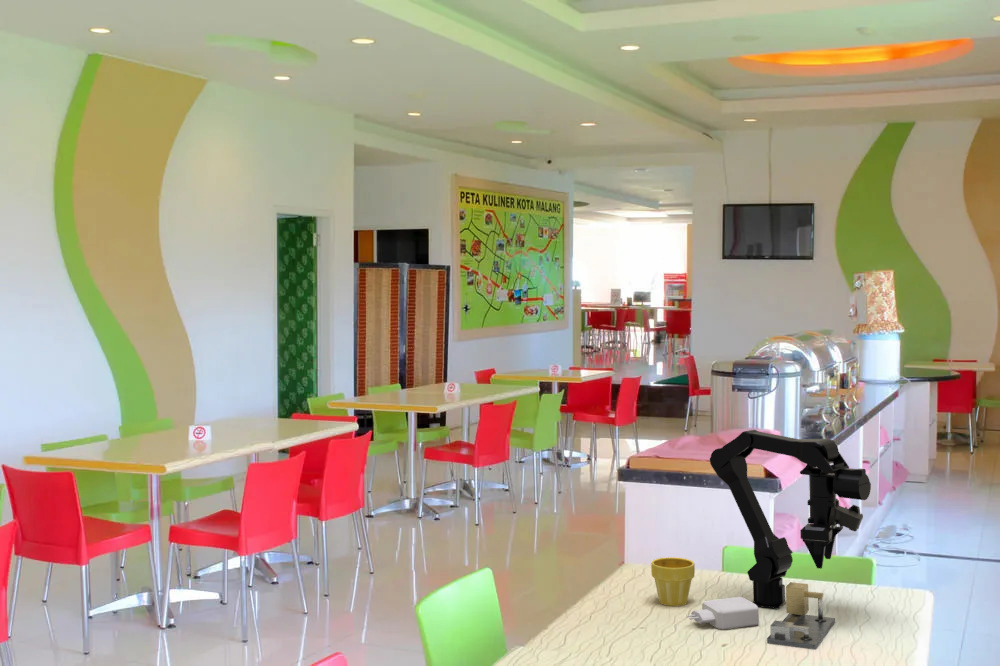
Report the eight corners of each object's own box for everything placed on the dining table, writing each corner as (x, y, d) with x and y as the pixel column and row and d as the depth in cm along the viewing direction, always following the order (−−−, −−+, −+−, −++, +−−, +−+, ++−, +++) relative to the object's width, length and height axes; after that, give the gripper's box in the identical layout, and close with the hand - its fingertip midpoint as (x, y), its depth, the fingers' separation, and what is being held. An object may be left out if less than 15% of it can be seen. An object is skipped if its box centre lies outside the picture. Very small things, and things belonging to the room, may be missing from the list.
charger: (679, 622, 240) (739, 615, 244) (697, 634, 231) (759, 627, 235) (678, 601, 240) (738, 595, 244) (696, 613, 231) (758, 605, 235)
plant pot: (703, 605, 252) (702, 564, 252) (666, 610, 248) (665, 569, 248) (681, 594, 262) (680, 555, 261) (644, 599, 258) (643, 560, 258)
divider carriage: (786, 617, 236) (785, 586, 236) (790, 612, 239) (790, 582, 239) (821, 621, 232) (820, 590, 232) (824, 616, 236) (824, 585, 236)
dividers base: (767, 643, 223) (766, 626, 223) (789, 617, 241) (789, 601, 241) (815, 649, 218) (815, 632, 218) (835, 622, 236) (834, 606, 236)
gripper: (851, 505, 228) (853, 577, 228) (866, 490, 244) (868, 557, 245) (799, 501, 233) (800, 572, 234) (817, 487, 250) (818, 553, 250)
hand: (823, 563), depth 240 cm, fingers open, 9 cm apart
